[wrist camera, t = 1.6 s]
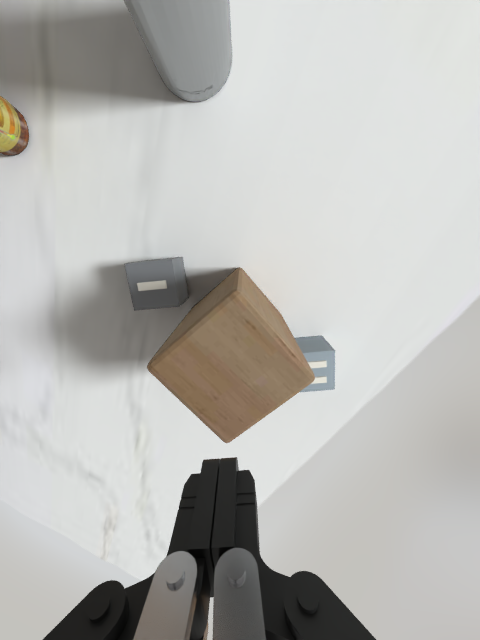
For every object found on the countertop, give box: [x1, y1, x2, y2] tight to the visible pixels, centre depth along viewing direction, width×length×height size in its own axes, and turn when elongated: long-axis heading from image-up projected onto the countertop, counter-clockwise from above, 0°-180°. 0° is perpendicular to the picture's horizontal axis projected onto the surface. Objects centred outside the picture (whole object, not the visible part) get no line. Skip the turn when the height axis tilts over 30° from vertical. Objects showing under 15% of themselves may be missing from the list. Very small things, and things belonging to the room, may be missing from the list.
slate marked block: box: [294, 336, 335, 392], centre depth 39 cm, size 6×6×6 cm
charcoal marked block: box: [124, 257, 189, 310], centre depth 36 cm, size 6×6×6 cm
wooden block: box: [147, 267, 315, 443], centre depth 30 cm, size 10×10×20 cm
